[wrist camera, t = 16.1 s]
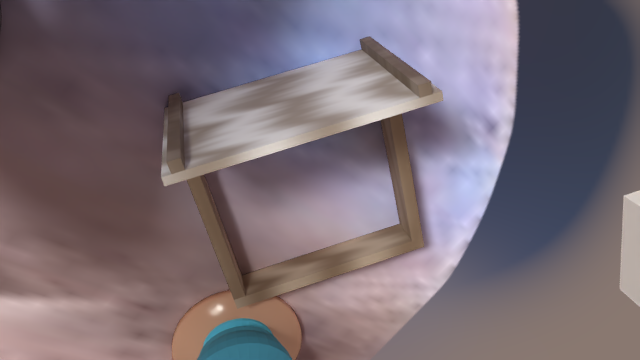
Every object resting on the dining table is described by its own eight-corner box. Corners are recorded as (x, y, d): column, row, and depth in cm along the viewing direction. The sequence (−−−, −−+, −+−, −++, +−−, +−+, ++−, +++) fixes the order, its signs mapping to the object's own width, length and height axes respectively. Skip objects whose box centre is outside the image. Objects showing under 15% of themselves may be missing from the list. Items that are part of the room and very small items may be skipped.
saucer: (196, 404, 56) (196, 410, 56) (152, 314, 50) (152, 320, 50) (312, 363, 57) (314, 369, 57) (282, 271, 52) (283, 276, 51)
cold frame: (234, 287, 51) (249, 388, 41) (160, 97, 42) (155, 165, 32) (411, 229, 53) (470, 312, 42) (377, 34, 44) (440, 78, 33)
